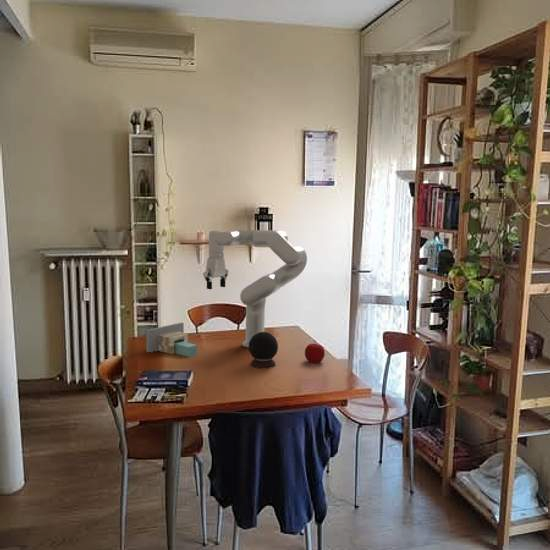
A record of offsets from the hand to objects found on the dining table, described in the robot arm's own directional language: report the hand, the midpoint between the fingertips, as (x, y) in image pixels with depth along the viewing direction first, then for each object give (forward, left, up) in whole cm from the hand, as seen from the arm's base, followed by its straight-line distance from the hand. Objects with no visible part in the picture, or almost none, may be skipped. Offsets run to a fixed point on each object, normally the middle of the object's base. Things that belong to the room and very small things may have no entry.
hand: (216, 287), depth 274 cm
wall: (+9, +26, -28) cm, 39 cm away
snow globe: (-44, +14, -28) cm, 54 cm away
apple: (-59, -5, -28) cm, 66 cm away
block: (+3, +26, -28) cm, 39 cm away
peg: (-4, +26, -29) cm, 39 cm away
